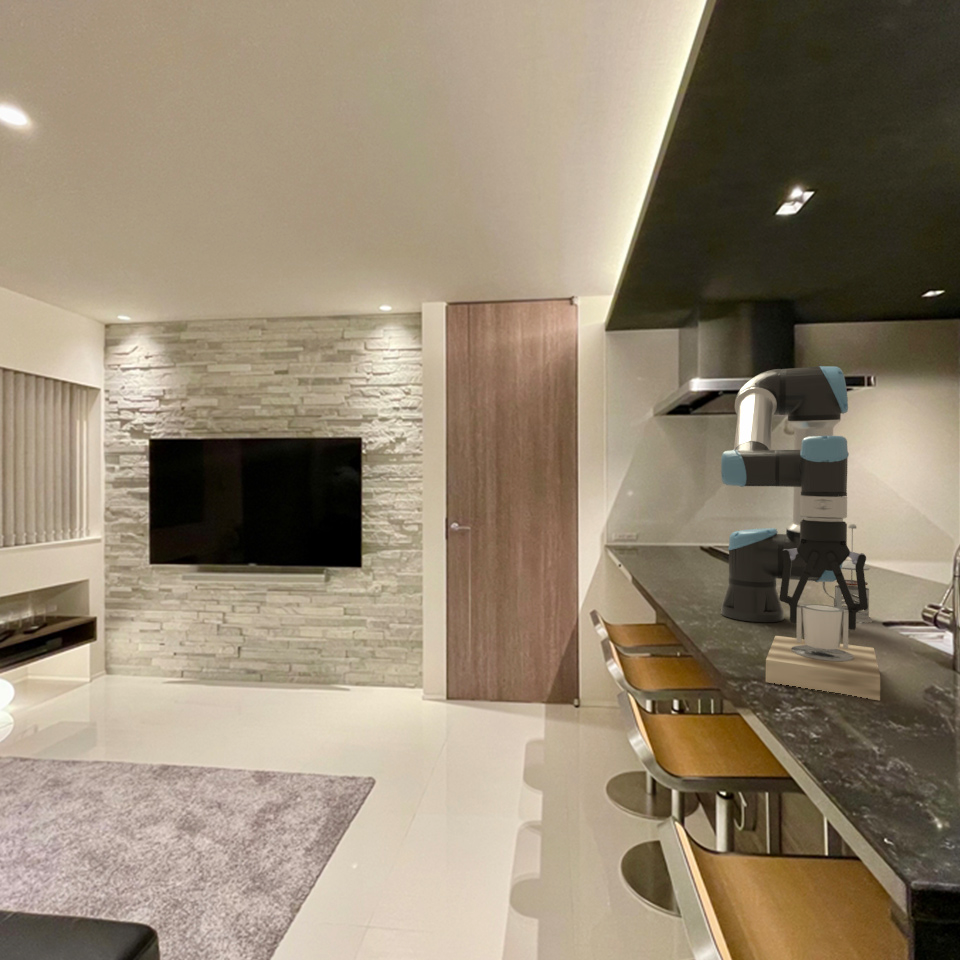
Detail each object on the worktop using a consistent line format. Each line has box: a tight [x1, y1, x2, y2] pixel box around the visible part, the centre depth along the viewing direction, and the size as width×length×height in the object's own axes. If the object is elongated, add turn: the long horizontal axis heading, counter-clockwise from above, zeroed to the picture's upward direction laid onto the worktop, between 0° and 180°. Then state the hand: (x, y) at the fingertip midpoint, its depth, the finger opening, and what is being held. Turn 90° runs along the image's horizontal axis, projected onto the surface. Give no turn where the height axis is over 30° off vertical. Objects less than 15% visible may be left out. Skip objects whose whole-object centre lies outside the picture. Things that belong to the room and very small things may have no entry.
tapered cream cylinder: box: [801, 603, 844, 649], centre depth 112 cm, size 7×7×7 cm
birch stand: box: [765, 635, 881, 701], centre depth 112 cm, size 20×17×4 cm
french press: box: [822, 523, 874, 623], centre depth 161 cm, size 10×12×25 cm
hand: (821, 643), depth 112 cm, fingers closed on tapered cream cylinder, 7 cm apart
